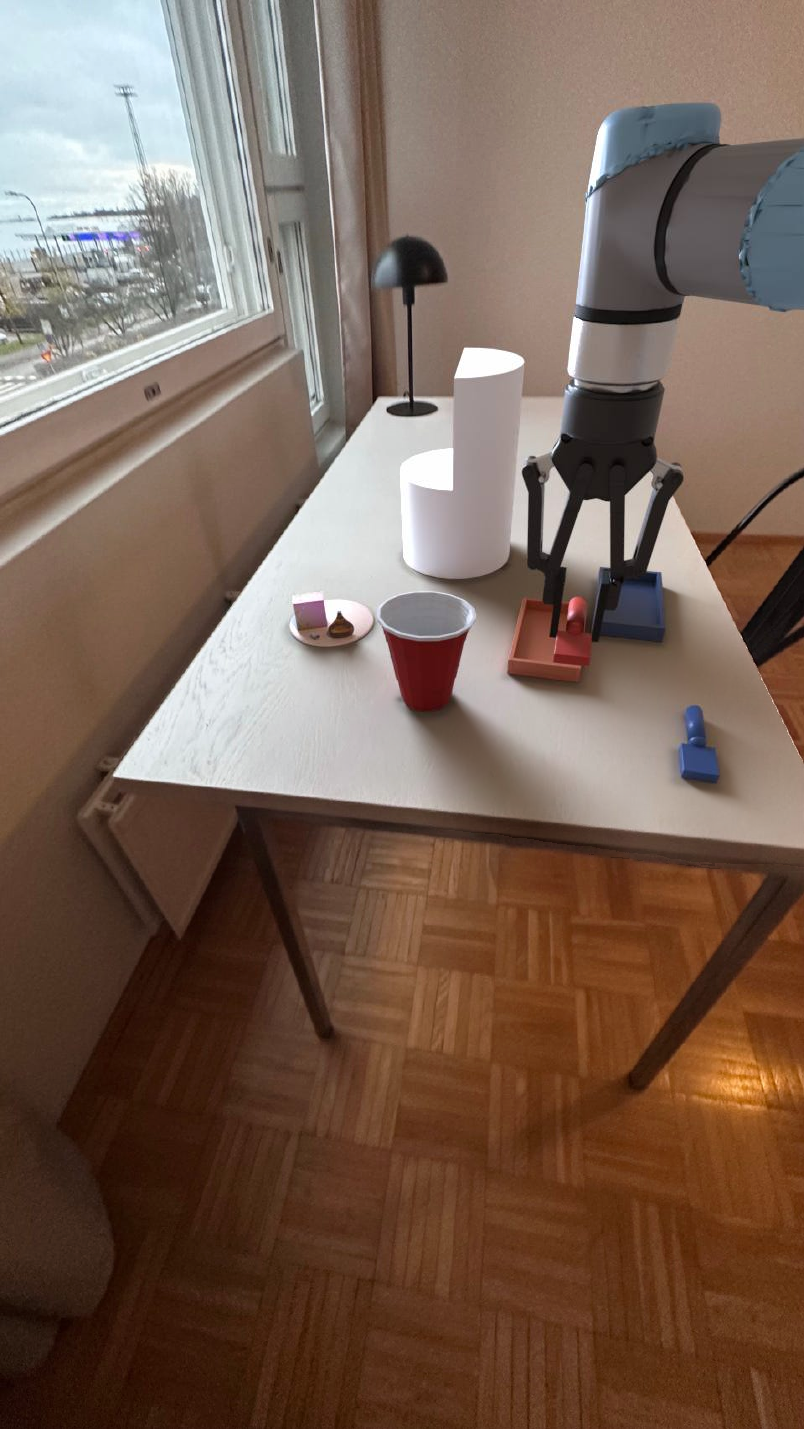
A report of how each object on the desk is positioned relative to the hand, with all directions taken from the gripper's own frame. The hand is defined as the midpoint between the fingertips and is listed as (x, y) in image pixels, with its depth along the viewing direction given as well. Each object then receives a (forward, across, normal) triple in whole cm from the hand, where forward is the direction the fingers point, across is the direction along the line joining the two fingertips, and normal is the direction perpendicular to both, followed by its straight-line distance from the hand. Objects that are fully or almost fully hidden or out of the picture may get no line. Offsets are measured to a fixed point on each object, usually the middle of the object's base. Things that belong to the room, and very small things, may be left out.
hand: (574, 632), depth 64 cm
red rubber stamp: (0, 0, 0) cm, 0 cm away
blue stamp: (+12, -14, +2) cm, 18 cm away
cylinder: (+12, +20, -38) cm, 44 cm away
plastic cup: (+12, +16, -1) cm, 20 cm away
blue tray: (+11, -7, -26) cm, 29 cm away
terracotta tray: (+11, +3, -14) cm, 19 cm away
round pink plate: (+12, +33, -14) cm, 37 cm away
